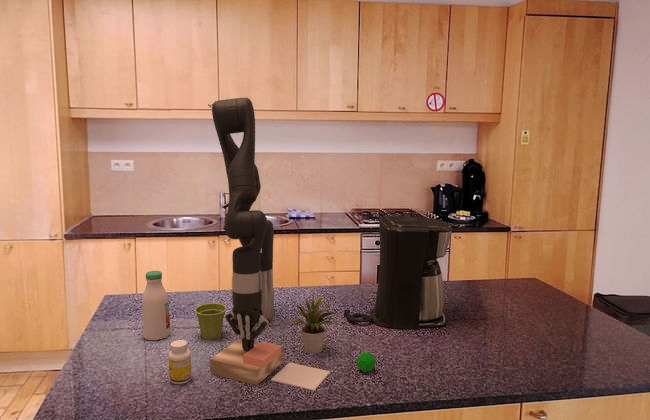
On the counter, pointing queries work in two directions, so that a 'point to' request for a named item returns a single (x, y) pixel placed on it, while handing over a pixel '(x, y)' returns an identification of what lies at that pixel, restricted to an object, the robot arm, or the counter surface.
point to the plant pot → (211, 319)
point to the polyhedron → (366, 362)
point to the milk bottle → (155, 308)
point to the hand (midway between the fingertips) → (248, 350)
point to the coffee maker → (409, 273)
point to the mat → (301, 376)
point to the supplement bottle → (180, 362)
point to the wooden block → (240, 365)
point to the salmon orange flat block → (262, 354)
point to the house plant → (314, 325)
